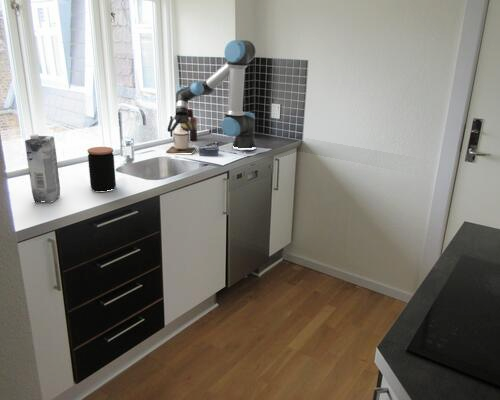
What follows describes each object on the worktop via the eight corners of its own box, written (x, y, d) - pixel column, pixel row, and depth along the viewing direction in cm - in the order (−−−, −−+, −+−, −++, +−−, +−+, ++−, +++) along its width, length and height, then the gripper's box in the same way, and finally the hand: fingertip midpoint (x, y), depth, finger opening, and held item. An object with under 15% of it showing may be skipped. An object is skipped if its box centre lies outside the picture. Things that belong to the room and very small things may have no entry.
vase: (191, 137, 302) (191, 108, 295) (199, 140, 294) (199, 110, 287) (177, 139, 295) (177, 109, 288) (186, 142, 288) (185, 111, 281)
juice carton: (63, 195, 185) (55, 132, 176) (53, 204, 176) (45, 138, 166) (41, 194, 185) (33, 131, 176) (30, 203, 175) (21, 137, 166)
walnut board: (195, 149, 271) (195, 147, 270) (191, 154, 258) (191, 152, 257) (172, 148, 272) (172, 146, 271) (166, 153, 258) (166, 151, 258)
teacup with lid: (192, 147, 264) (192, 128, 260) (181, 150, 257) (181, 130, 253) (177, 144, 270) (177, 125, 266) (167, 146, 263) (166, 127, 259)
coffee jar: (107, 183, 202) (104, 145, 196) (120, 188, 196) (118, 149, 190) (86, 188, 195) (82, 149, 188) (99, 194, 188) (96, 153, 182)
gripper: (199, 114, 273) (199, 144, 264) (164, 113, 271) (163, 144, 261) (199, 106, 266) (199, 138, 257) (163, 105, 264) (162, 137, 255)
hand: (181, 141), depth 259 cm, fingers closed on teacup with lid, 9 cm apart
